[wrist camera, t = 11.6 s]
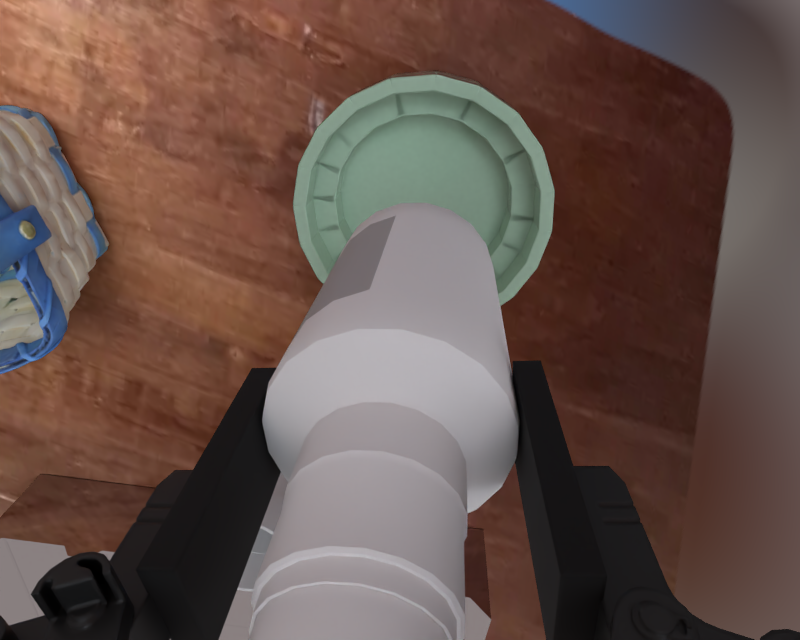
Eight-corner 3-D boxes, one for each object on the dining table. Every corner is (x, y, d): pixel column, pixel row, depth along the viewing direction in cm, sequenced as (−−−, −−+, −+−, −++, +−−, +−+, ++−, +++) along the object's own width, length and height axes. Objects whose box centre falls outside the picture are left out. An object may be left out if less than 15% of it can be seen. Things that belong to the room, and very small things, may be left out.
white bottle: (324, 214, 22) (-8, 635, 6) (482, 185, 21) (567, 618, 5) (361, 348, 25) (201, 860, 9) (501, 330, 24) (592, 883, 8)
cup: (287, 393, 44) (239, 503, 34) (346, 451, 47) (318, 569, 36) (225, 432, 47) (162, 544, 36) (284, 485, 50) (241, 603, 39)
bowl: (546, 60, 31) (563, 63, 26) (534, 293, 38) (546, 326, 34) (294, 81, 32) (270, 87, 28) (329, 301, 40) (315, 334, 35)
